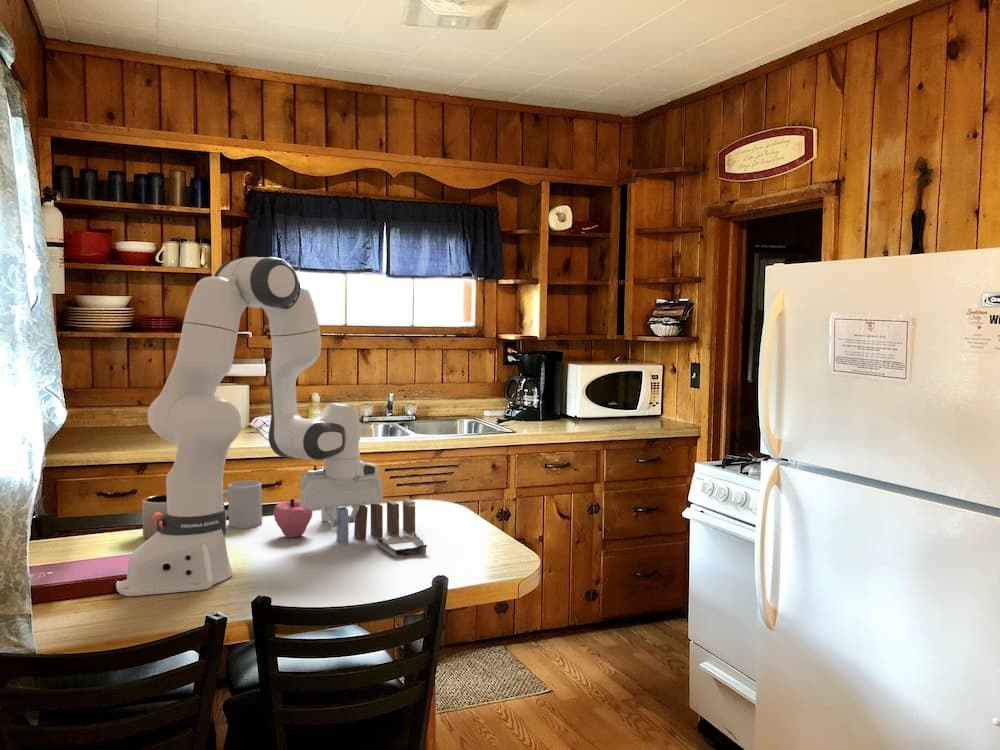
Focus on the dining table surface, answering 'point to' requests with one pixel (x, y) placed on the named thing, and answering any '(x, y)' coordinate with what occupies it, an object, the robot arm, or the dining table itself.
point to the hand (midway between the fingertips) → (342, 523)
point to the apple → (292, 518)
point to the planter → (152, 513)
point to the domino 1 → (342, 524)
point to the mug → (244, 504)
